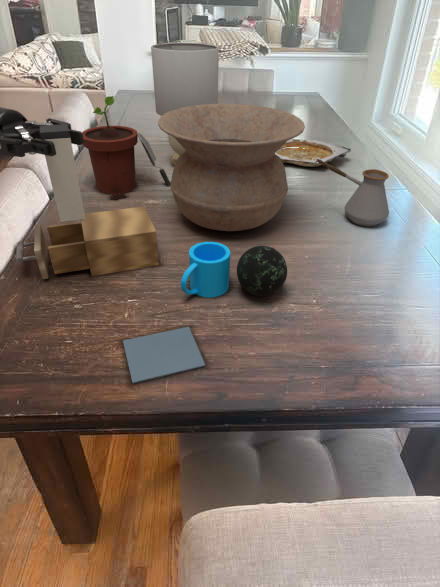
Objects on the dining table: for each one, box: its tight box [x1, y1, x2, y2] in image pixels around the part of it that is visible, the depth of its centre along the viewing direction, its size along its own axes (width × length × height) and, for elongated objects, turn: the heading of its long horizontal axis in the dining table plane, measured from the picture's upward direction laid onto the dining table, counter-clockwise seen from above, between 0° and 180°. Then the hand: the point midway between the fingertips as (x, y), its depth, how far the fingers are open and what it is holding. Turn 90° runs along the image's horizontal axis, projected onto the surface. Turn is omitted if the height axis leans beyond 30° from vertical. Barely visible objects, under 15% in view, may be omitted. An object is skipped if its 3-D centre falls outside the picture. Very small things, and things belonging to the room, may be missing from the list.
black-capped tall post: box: [40, 124, 86, 223], centre depth 73 cm, size 4×4×16 cm
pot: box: [157, 103, 306, 232], centre depth 104 cm, size 34×34×25 cm
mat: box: [122, 326, 206, 385], centre depth 70 cm, size 12×10×1 cm
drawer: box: [15, 221, 90, 280], centre depth 89 cm, size 18×11×7 cm, turn 109°
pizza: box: [275, 138, 352, 168], centre depth 149 cm, size 32×4×23 cm
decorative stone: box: [236, 245, 288, 297], centre depth 82 cm, size 10×10×10 cm
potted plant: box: [81, 95, 171, 201], centre depth 118 cm, size 18×22×25 cm
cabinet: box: [80, 205, 160, 277], centre depth 92 cm, size 15×13×9 cm
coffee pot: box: [314, 159, 390, 227], centre depth 108 cm, size 21×12×15 cm, turn 74°
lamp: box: [150, 41, 220, 167], centre depth 133 cm, size 20×20×35 cm
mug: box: [180, 241, 231, 298], centre depth 83 cm, size 12×8×8 cm
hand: (67, 143), depth 69 cm, fingers closed on black-capped tall post, 6 cm apart
